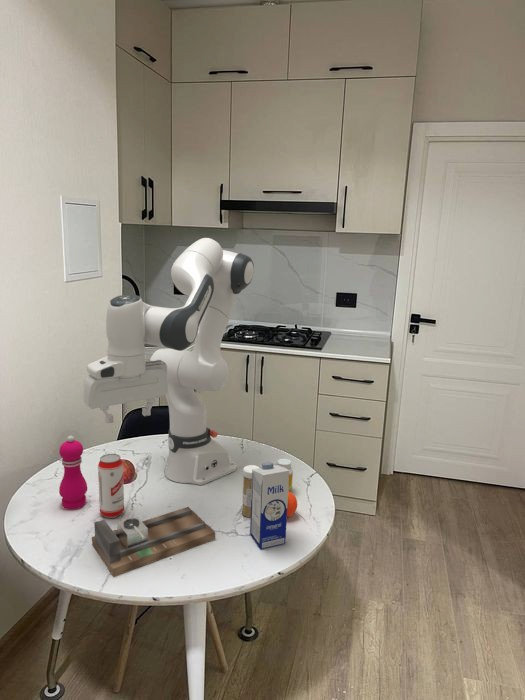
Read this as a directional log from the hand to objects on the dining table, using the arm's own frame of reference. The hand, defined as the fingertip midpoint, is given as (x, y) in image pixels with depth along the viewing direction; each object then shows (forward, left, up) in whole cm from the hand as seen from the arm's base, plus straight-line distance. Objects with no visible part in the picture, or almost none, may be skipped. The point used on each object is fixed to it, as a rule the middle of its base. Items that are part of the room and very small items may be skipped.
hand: (128, 418), depth 129 cm
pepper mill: (+9, -18, -29) cm, 36 cm away
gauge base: (-2, +10, -29) cm, 31 cm away
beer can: (+2, -8, -29) cm, 30 cm away
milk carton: (-26, +24, -29) cm, 46 cm away
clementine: (-36, +18, -29) cm, 50 cm away
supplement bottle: (-44, +7, -29) cm, 53 cm away
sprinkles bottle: (-29, +12, -29) cm, 43 cm away
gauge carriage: (+4, +12, -27) cm, 29 cm away
